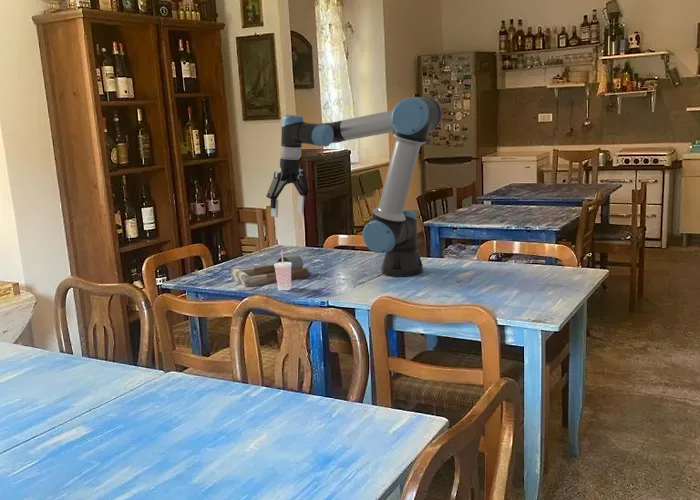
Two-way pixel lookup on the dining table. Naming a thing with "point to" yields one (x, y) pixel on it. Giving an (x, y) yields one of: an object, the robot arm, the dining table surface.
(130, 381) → the dining table surface
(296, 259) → the ceramic mug
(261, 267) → the guide channel
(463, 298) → the dining table surface
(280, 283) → the beverage cup
